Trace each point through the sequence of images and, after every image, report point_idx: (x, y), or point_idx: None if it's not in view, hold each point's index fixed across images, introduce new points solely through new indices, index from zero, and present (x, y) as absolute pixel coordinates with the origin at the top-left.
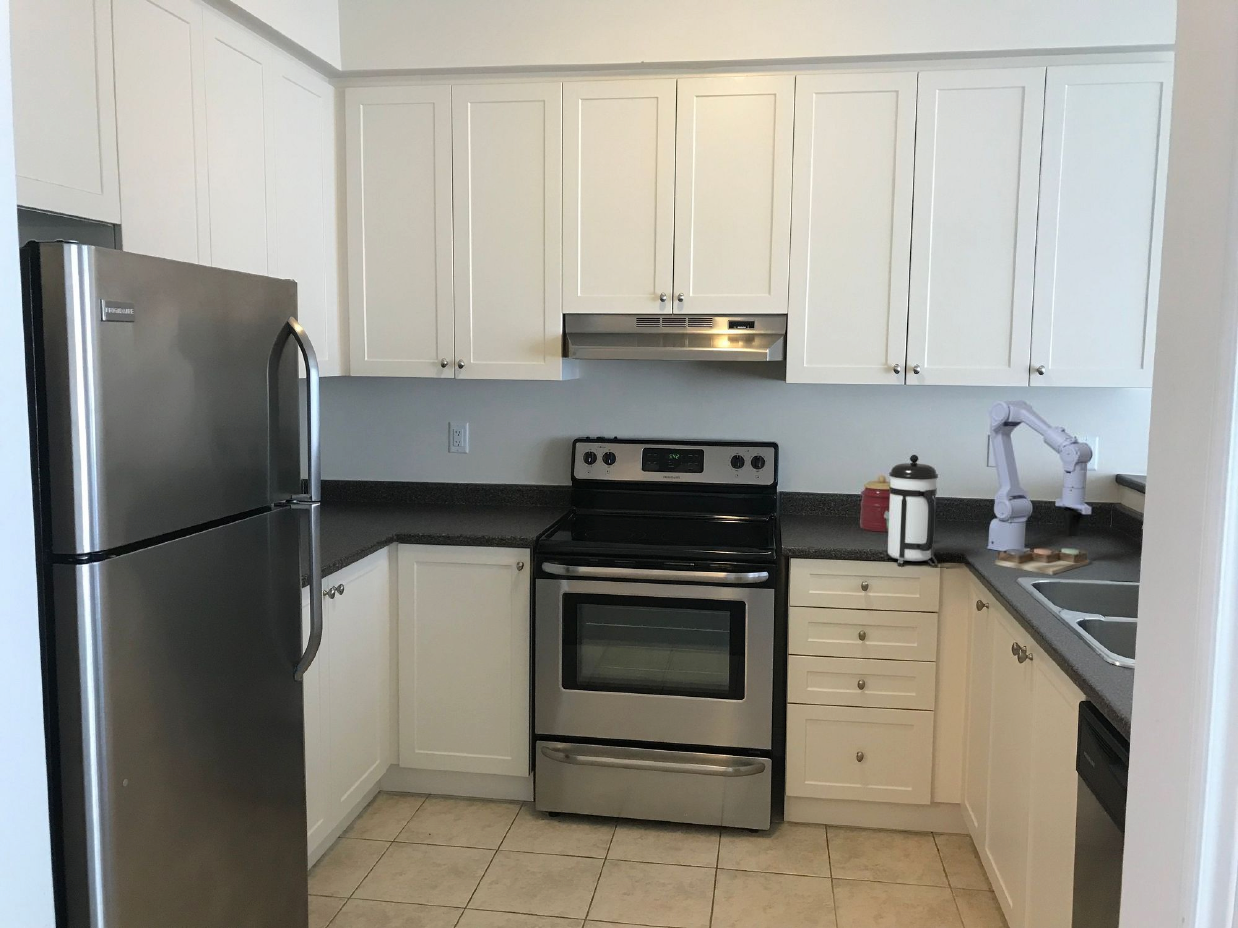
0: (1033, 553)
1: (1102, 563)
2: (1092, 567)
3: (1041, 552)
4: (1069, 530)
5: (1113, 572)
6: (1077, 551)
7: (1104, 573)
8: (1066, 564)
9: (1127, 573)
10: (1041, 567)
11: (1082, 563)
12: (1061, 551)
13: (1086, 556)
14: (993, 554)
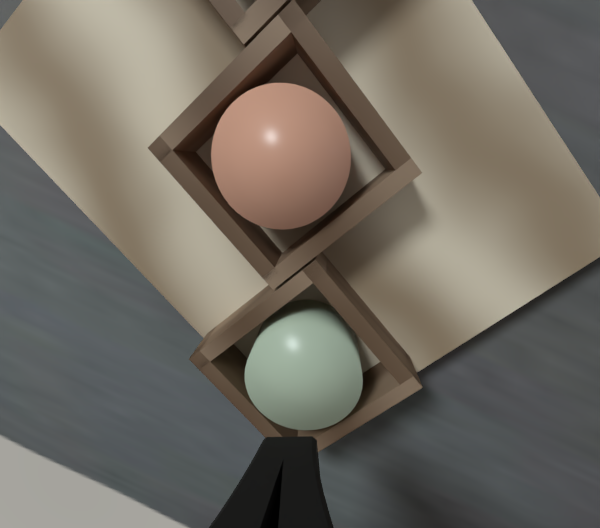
0: (238, 56)
1: None
2: (225, 405)
3: (221, 121)
4: (238, 490)
5: (124, 442)
6: (255, 403)
7: (94, 394)
8: (160, 260)
9: (114, 486)
10: (33, 40)
11: None
12: (320, 322)
13: None
14: None
